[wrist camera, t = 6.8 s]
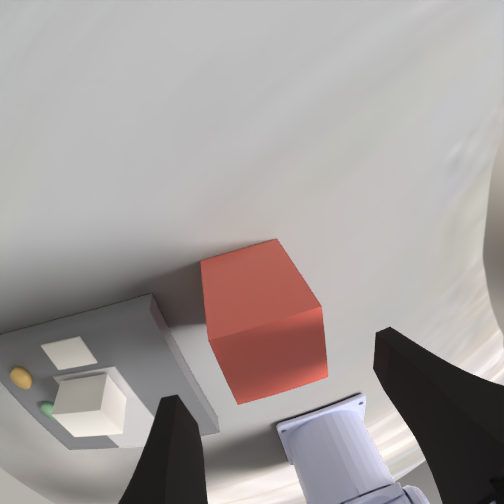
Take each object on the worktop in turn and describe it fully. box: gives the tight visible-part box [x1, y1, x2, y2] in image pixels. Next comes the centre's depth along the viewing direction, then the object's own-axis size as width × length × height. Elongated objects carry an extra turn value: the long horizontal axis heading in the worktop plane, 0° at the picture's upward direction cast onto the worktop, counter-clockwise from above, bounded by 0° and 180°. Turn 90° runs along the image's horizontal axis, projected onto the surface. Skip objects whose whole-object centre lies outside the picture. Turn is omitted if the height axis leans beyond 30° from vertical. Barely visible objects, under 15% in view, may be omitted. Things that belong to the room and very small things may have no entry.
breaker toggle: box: [51, 374, 126, 437], centre depth 14 cm, size 2×4×3 cm, turn 103°
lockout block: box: [200, 239, 328, 405], centre depth 14 cm, size 4×4×6 cm
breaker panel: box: [0, 293, 220, 450], centre depth 17 cm, size 12×14×2 cm
